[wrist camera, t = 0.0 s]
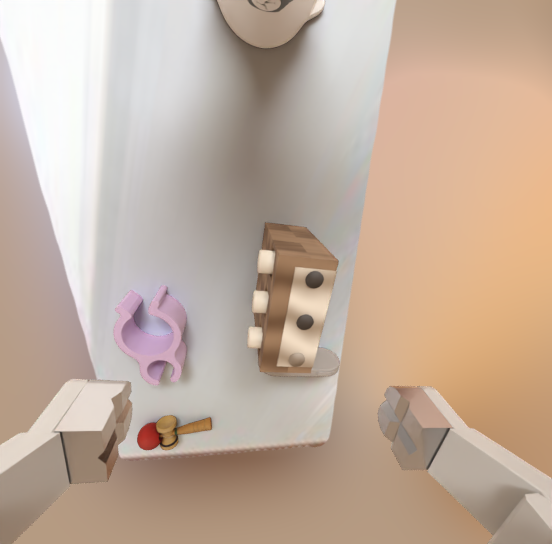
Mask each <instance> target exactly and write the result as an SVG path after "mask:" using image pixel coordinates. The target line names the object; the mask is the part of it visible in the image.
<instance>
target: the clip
mask: <svg viewBox="0 0 552 544" xmlns="http://www.w3.org/2000/svg"><path fill="white" fill-rule="evenodd" d="M166 291H167V286H165V285H162V286H161V287H160V289H159V290H158V292H157V294H156V295H155V297H154V299H153V300H152V302H151V304H150V306H149V308H148V313H149V314H150V315H154V316H157V317H159V318H161V319H163V320H164V321H166V322H167V323H168V324H169V325H170V327H171V328H172V331H173V332H172V333H170V334H167V335H163V336H154V335H150V334H147V333H145V332H143V331H142V330H141V329H140V328H139V327H138V326H137V325H136V323H135V321H134V316H133V315H134V313H135V311H136V310H137V308H138V307H139V305H140V304H141V302H142V301H143V299H142V297H141V296H140V295H139V294H137V293H136V292H135V291H133V290H130V291H129V292H128V293H127V295H126V296H125V297H124V298H123V300H122V301H121V302H120V303H119V305H118V306H117V307H116V308H115V311H116V312H117V313H119V314H120V315H121V316H120V318H119V319H118V320H117V322H116V324H115V327H114V339H115V341H116V343H117V345H118V347H119V348H120V349H121V350H122V351H123V352H124V353H126V354H127V355H129V356H130V357H133V358H134V359H136V360H137V361H138V363H139V365H140V374H141V376H142V378H143V379H144V380H145V381H147V382H148V383H150V384H152V385H159V382H160V379H161V376H162V373H163V371H164V368H165V365H166V361H167V362H169V363H171V364H172V365H173V367H174V369H173V372H172V375H171V379H170V380H171V381H172V382H176V381H177V380H178V379H179V378H180V376H181V373H182V369H183V365H184V361H185V357H186V353H187V347H186V345H185V343H184V342H183V341H182V339H181V338H182V335H183V331H184V328H185V325H186V320H187V317H186V312H185V309H184V308H183V306H182V305H181V303H180V302H179V301H178V300H176V299H175V298H173V297H172V296H170V295H167V294H166Z"/></svg>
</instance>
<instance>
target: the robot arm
mask: <svg viewBox="0 0 552 544" xmlns="http://www.w3.org/2000/svg"><path fill="white" fill-rule="evenodd" d="M217 2H218V4H219V7H220V9H221V12H222V14H223V16H224V18H225V20H226V22H227V23H228V25H229V26H230V28H231V29H232V30H233V31H234V33H235V34H236V35H237V36H239V37H240V38H241V39H242V40H244V41H245V42H247V43H249V44H251V45H253V46H256V47H260V48H274V47H278V46H280V45H283V44H285V43H286V42H288V41H289V40H290V39H292V38H293V37H294V36H295V35H296V34H297V32H298V31H299V30H300V28H301V27H302V26H303V25H304V23H305V22H306V21H308V20H310V19H312V18H314V17H315V16H317V15H318V14H320V13H321V12H322V10H323V8H324V5H325V0H217ZM130 394H131V382H129V381H113V380H81V379H71V380H69V381H68V382H66V383H65V384H64V385H63V387H62V388H61V389H60V390H59V392H58V393H57V394H56V396H55V397H54V398H53V400H52V401H51V402H50V403H49V405H48V406H47V407H46V409H45V410H44V411H43V412H42V414H41V415H40V416H39V418H38V419H37V420H36V422H35V423H34V424H33V426H32V427H31V428H30V429H29V431H28V432H27V433H19V434H17V435H16V436H14V437H12V438H11V439H9V440H8V441H6V442H4V443H3V444H1V445H0V544H12V543H13V542H14V541H15V540H16V539H17V538H18V537H19V536H20V535H21V534H22V533H23V532H24V531H25V530H26V529H27V528H28V527H29V526H30V525H31V524H32V523H34V521H35V520H36V519H38V518H39V517H40V515H42V514H43V513H44V512H45V511H46V510H47V509H48V508H49V507H50V506H51V505H52V504H53V503H54V502H55V501H56V500H57V499H58V498H59V497H60V496H61V495H62V494H63V493H64V492H65V491H66V490H67V489H68V488H69V487H70V484H79V483H94V482H107V481H108V480H109V477H110V475H111V472H112V470H113V467H114V465H115V462H116V460H117V458H118V445H119V444H120V443H121V442H122V441H123V440H124V439H125V438H126V435H127V432H128V430H129V426H130V422H131V418H132V402H131V401H130V400H129V399H128V398H129V396H130ZM385 398H386V401H385V402H383V403H382V404H381V405H380V408H379V411H378V422H379V425H380V428H381V430H382V432H383V434H384V436H385V437H387V438H388V439H389V440H390V441H391V442H392V445H391V450H392V452H393V453H394V455H395V457H396V459H397V461H398V463H399V465H400V467H401V468H402V470H428V471H427V472H428V473H429V474H430V475H431V476H432V477H433V478H434V479H436V481H437V482H438V483H440V484H441V485H442V486H443V487H444V488H445V489H446V490H447V491H448V492H449V493H450V494H451V495H452V496H453V497H454V498H455V499H456V500H457V501H458V502H459V503H460V504H461V505H462V506H463V507H464V508H465V509H467V511H468V512H469V513H471V515H472V516H473V517H475V518H476V519H477V520H478V521H479V522H480V523H481V524H482V525H483V526H484V527H485V528H486V529H487V530H488V531H489V532H490V533H491V534H492V535H493V537H492V538H491V540H490V541H489V542H488V543H487V544H552V478H550V477H548V476H547V475H545V474H544V473H542V472H541V471H539V470H538V469H536V468H534V467H533V466H531V465H530V464H528V463H527V462H525V461H523V460H522V459H520V458H519V457H517V456H516V455H514V454H513V453H511V452H509V451H508V450H506V449H505V448H503V447H502V446H500V445H499V444H497V443H495V442H494V441H492V440H491V439H489V438H487V437H486V436H484V435H483V434H481V433H480V432H478V431H477V430H475V429H471V428H468V427H467V425H466V424H465V423H464V422H463V421H462V420H461V418H460V417H459V416H458V415H457V414H456V412H455V411H454V410H453V409H452V408H451V407H450V406H449V404H448V403H447V402H446V401H445V400H444V398H443V397H442V396H441V395H440V394H439V393H438V391H437V390H436V389H434V388H432V387H424V386H421V387H420V386H417V387H415V386H390V387H389V388H387V390H386V392H385Z"/></svg>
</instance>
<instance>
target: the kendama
mask: <svg viewBox="0 0 552 544" xmlns="http://www.w3.org/2000/svg"><path fill="white" fill-rule="evenodd" d="M176 425H177V421H176V418H175V417H174V416H172V415H169V416H164V417H162V418H161V419H159V420H158V422H157V423H149V424H146V425H145V426H143V427H142V428H141V430H140V431H139V434H138V437H137V442H138V445H139V447H140V448H142V449H144V450H152V449H154V448H156V447H157V446H158V445H159V444H160V446H161V448H162V449H163V450H170V449H173V448H174V447H175V446H176V445H177V444H178V436H177V435H178V434H188V433H194V432H200V431H205V430H206V431H207V430H211V429H212V425H211V418H210V417H209V418H206V419H203V420H200V421H196V422H194V423H189V424H186V425H183V426H181V427H178V428H175V427H176ZM174 428H175V429H174Z"/></svg>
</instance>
